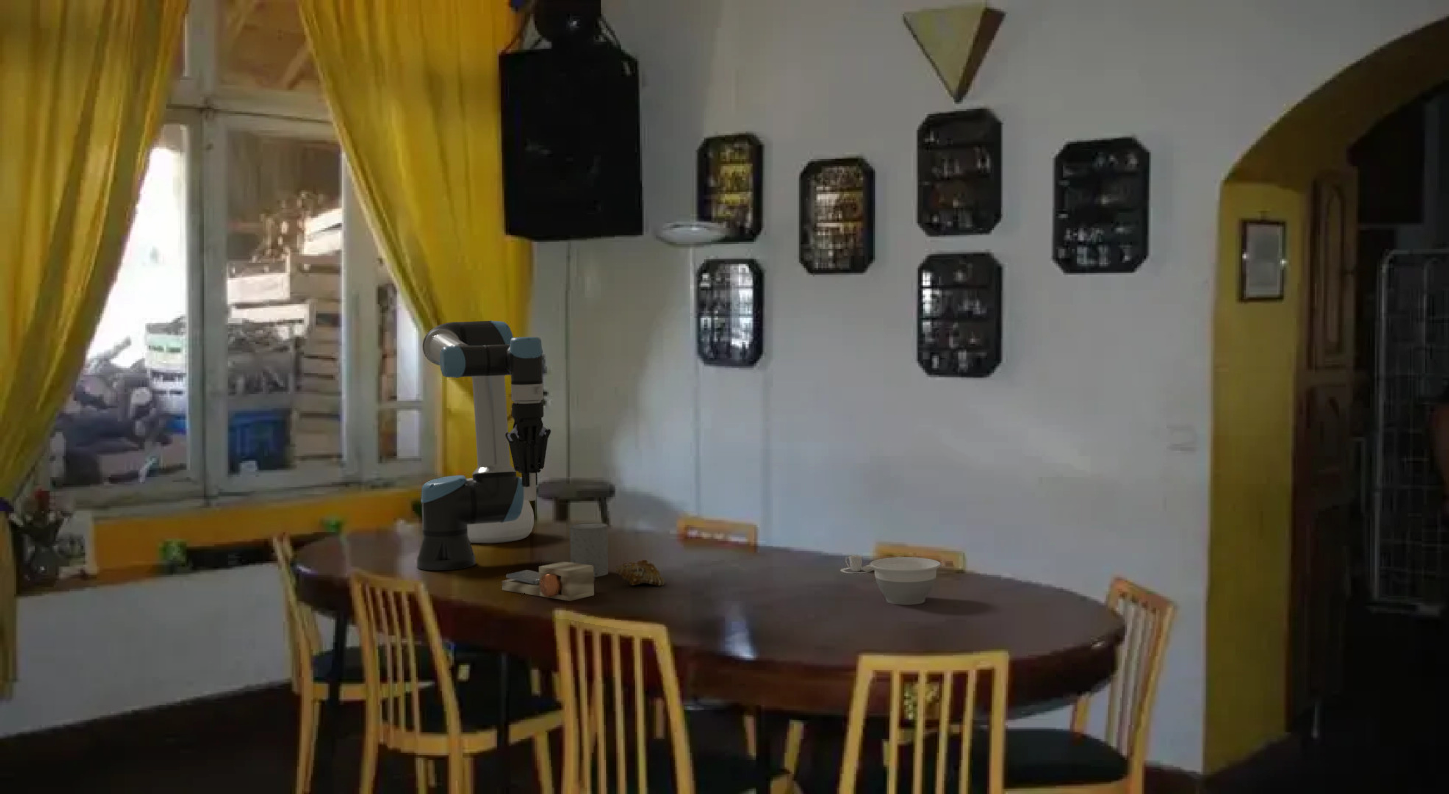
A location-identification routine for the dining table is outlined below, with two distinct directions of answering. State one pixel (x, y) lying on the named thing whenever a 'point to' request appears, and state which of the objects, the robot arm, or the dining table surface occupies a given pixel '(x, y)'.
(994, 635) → the dining table surface
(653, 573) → the seashell
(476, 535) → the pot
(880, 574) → the bowl
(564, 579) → the block
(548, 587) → the pin
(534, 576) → the latch flap
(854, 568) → the teacup and saucer
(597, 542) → the grey stone cylinder
